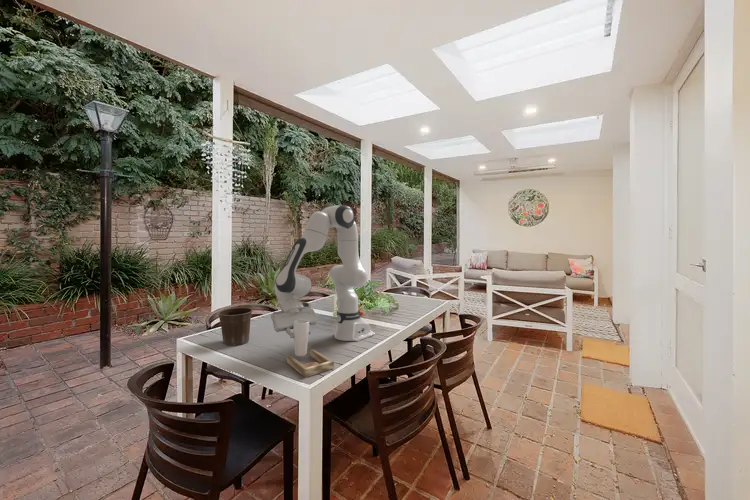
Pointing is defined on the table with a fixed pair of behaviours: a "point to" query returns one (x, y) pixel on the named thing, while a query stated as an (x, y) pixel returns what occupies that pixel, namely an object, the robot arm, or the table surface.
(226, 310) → the plant pot
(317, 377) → the table surface
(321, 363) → the guide channel
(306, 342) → the white cup
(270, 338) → the table surface
